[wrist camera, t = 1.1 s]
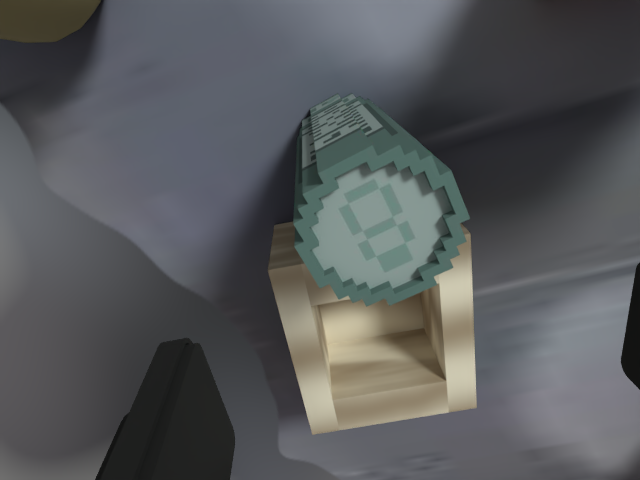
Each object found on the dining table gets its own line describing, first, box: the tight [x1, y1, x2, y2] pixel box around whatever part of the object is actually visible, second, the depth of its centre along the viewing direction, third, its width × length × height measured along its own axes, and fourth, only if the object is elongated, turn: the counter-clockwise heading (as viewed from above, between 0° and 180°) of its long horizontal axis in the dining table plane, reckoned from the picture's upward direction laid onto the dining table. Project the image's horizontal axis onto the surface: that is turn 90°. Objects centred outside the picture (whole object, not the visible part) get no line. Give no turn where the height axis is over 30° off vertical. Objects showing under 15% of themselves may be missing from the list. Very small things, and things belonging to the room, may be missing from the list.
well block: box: [268, 222, 477, 435], centre depth 31 cm, size 14×12×7 cm
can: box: [293, 93, 470, 307], centre depth 22 cm, size 6×6×15 cm
